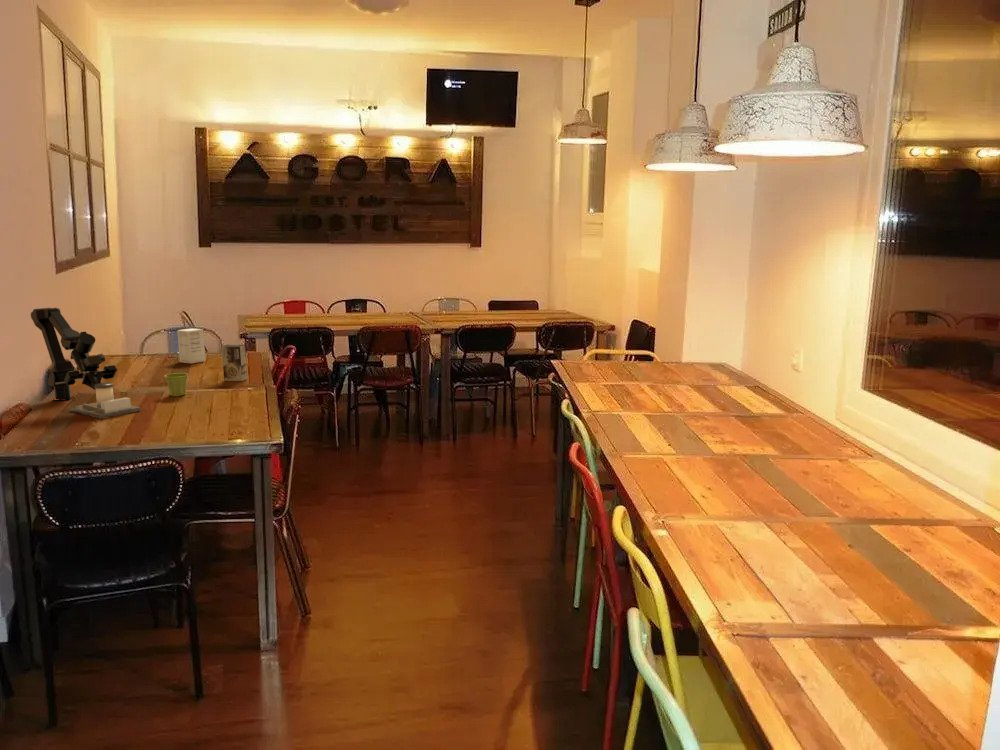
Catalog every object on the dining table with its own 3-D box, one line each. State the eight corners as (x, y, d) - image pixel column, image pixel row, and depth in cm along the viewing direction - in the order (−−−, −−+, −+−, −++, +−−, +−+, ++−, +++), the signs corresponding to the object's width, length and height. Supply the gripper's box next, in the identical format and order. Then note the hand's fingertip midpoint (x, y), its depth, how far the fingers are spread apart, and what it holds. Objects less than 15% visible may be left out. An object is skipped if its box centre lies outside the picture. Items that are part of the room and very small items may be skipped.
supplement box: (206, 361, 427) (204, 329, 424) (191, 363, 420) (188, 331, 416) (194, 359, 432) (191, 327, 429) (179, 362, 425) (176, 329, 421)
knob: (92, 407, 317) (90, 384, 315) (109, 403, 322) (107, 381, 321) (101, 409, 313) (99, 386, 311) (118, 406, 318) (116, 384, 317)
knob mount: (71, 410, 318) (69, 397, 317) (111, 403, 331) (109, 390, 330) (99, 419, 305) (98, 404, 304) (140, 411, 318) (139, 397, 317)
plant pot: (164, 398, 341) (163, 377, 339) (167, 393, 350) (165, 373, 348) (188, 396, 343) (187, 376, 342) (190, 392, 352) (189, 372, 351)
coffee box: (248, 378, 382) (246, 344, 378) (242, 381, 375) (240, 346, 372) (229, 378, 382) (227, 344, 379) (223, 381, 376) (221, 346, 373)
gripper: (64, 350, 311) (81, 382, 307) (112, 344, 326) (129, 375, 321) (57, 369, 317) (73, 400, 313) (104, 362, 332) (121, 392, 327)
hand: (100, 391), depth 318 cm, fingers closed, pressing on knob
